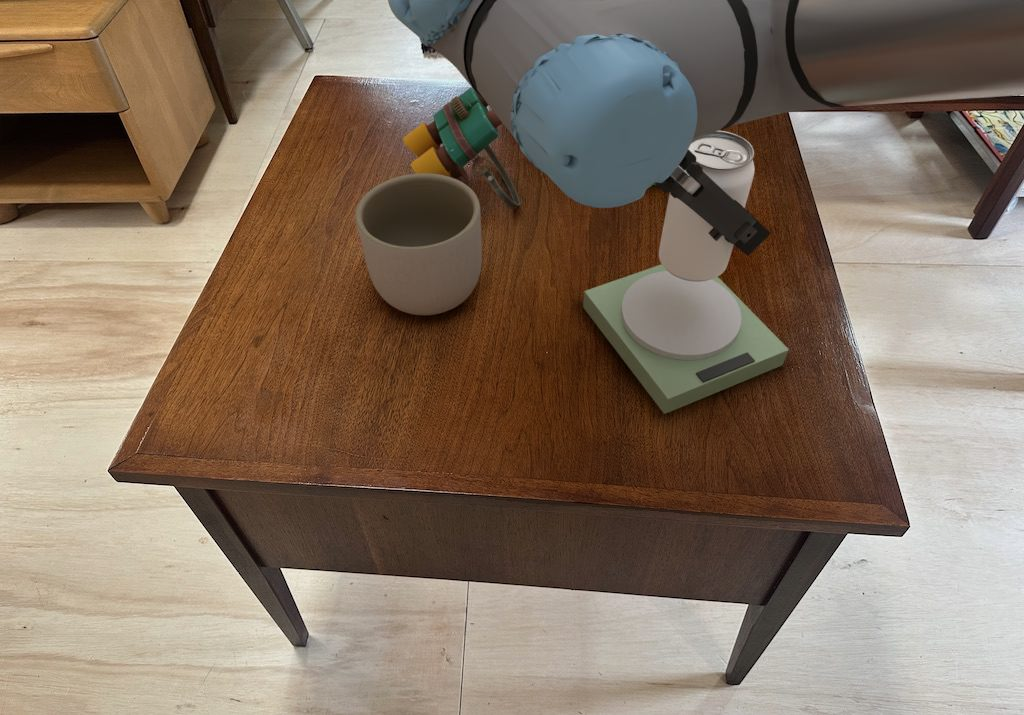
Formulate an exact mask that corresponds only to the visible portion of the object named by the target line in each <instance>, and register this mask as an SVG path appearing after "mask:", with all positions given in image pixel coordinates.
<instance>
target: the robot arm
mask: <svg viewBox="0 0 1024 715" xmlns="http://www.w3.org/2000/svg"><path fill="white" fill-rule="evenodd" d="M387 2H388V6H389V8H390V11H391V13H392V14H393V15H394V17H395V19H397V20H398V21H399V22H401V23H402V24H403V26H405V27H406V28H407V29H409V30H410V31H411V32H412V34H415V36H417V37H418V38H419V41H420V43H421V44H423V45H424V46H426V47H431V48H432V49H433V50H435V51H436V52H437V53H439V54H440V55H442V56H443V57H444V58H445V59H446V60H448V62H449V63H450V64H452V65H453V66H454V67H455V69H456V70H457V71H458V72H459V73H460V74H461V76H462V77H463V78H464V79H465V81H466V82H467V83H468V85H469V86H470V88H471V87H472V88H473V89H474V91H475V92H476V93H477V94H478V95H479V96H480V97H481V98H482V99H484V100H485V101H486V102H487V104H488V106H489V107H490V110H493V111H494V113H495V114H496V115H497V116H498V118H499V119H500V120H501V122H502V124H503V125H504V127H505V128H506V129H507V130H508V132H509V133H510V135H511V136H512V138H514V140H515V141H516V142H517V144H518V147H519V149H520V151H521V152H522V154H523V155H524V156H525V158H526V159H527V160H528V161H529V163H532V164H533V165H534V167H536V169H537V170H539V171H540V172H541V173H544V174H545V175H546V176H547V177H548V178H549V179H550V180H551V181H552V182H553V183H554V184H555V185H556V186H557V187H558V188H559V190H561V192H562V193H563V194H565V196H567V197H569V198H570V199H571V200H573V201H574V202H577V203H578V204H581V205H583V206H587V207H591V208H595V209H596V208H598V209H611V208H618V207H622V206H626V205H628V204H631V203H633V202H637V201H638V200H640V199H642V198H643V197H644V196H645V194H646V191H647V190H648V189H649V188H651V187H652V186H656V187H657V188H658V189H660V190H661V191H662V192H663V193H668V192H669V194H671V195H672V196H673V197H674V198H678V199H679V200H681V201H682V202H683V203H685V204H686V205H687V206H688V207H690V208H691V209H692V210H693V211H694V212H696V213H697V214H698V215H699V216H700V217H701V218H703V219H704V220H705V221H706V222H707V223H709V224H710V225H711V226H712V227H713V229H712V230H711V231H710V232H709V234H710V236H711V237H712V238H713V239H714V240H716V241H717V240H718V239H719V238H720V237H721V236H722V235H723V236H724V237H725V238H724V239H725V240H726V241H727V242H730V243H731V244H734V246H735V247H736V248H737V249H739V250H740V251H741V252H742V253H743V254H745V255H746V256H747V257H750V255H752V253H754V251H755V250H756V249H757V248H758V247H759V246H760V245H761V244H762V243H763V242H764V241H765V240H766V239H767V238H768V237H769V236H770V235H772V232H771V231H770V230H768V229H767V228H766V227H765V226H764V225H763V224H762V223H761V222H760V221H759V220H758V219H757V218H756V217H755V216H754V214H752V213H751V212H750V211H748V210H747V209H746V207H745V208H744V207H743V206H742V205H741V204H739V203H738V202H737V201H736V200H733V199H732V198H731V197H730V196H729V195H728V194H727V193H726V192H725V191H723V190H722V189H721V188H720V187H719V186H718V185H717V184H716V183H715V182H714V181H713V180H712V179H711V178H709V177H708V176H707V175H706V174H705V173H704V172H703V170H702V169H703V168H702V167H701V166H700V165H699V164H696V156H695V155H694V154H693V153H692V152H691V151H690V150H689V147H690V144H691V142H692V139H693V138H695V137H699V136H702V135H706V134H709V133H713V132H716V131H723V130H724V129H728V128H730V127H733V126H737V125H740V124H745V123H748V122H752V121H756V120H757V121H758V120H760V119H764V118H768V117H772V116H777V115H783V114H787V113H793V112H804V111H818V110H819V111H820V110H832V109H841V108H849V107H854V106H855V107H856V106H869V105H870V106H871V105H884V104H902V103H903V104H904V103H917V102H919V103H920V102H934V101H949V100H950V101H951V100H964V99H965V100H967V99H981V98H983V99H984V98H996V97H998V98H999V97H1012V96H1013V97H1014V96H1024V0H387ZM653 184H655V185H653Z"/></svg>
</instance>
